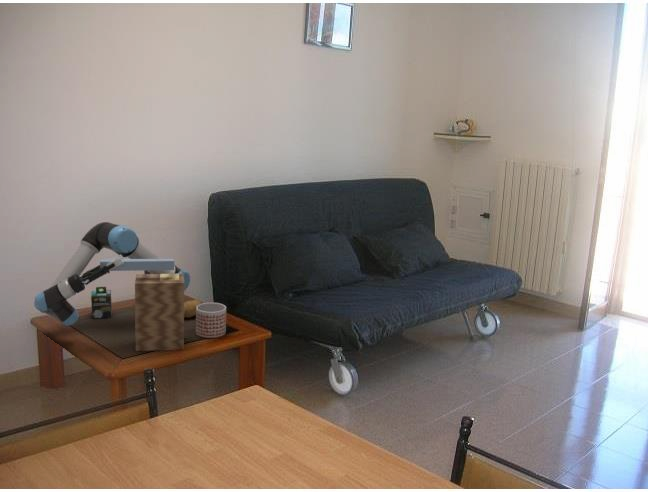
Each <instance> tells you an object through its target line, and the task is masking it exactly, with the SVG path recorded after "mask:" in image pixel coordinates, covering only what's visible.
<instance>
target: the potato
mask: <svg viewBox="0 0 648 492" xmlns="http://www.w3.org/2000/svg"><path fill="white" fill-rule="evenodd" d="M200 304H202V303H201V301H199V300H197V299H193V300H192V299H191V300H187V301H184V319H185V318H186V319H189V318H193V317H194V316H195V317H196V307H197V306H198V305H200Z"/></svg>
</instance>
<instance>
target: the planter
mask: <svg viewBox="0 0 648 492" xmlns="http://www.w3.org/2000/svg"><path fill="white" fill-rule="evenodd" d="M226 333H227V306H226V305H225V304H223V303H219V302H204V303H201V304H200V305H198V306H197V307H196V315H195V334H196V336H198V337H201V338H205V339H217V338H222V337H223V336H225V335H226Z"/></svg>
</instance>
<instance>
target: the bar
mask: <svg viewBox="0 0 648 492" xmlns="http://www.w3.org/2000/svg"><path fill="white" fill-rule="evenodd" d="M114 260H116V259H113V258H107V259H106V258H105V259H100V260H99V265H100V268H102V267H104V266H106V265H107V264H109V263H110V262H112V261H114ZM122 261H123V262H124V263H123V264H121V265H119V266H117V267H115V268H114V269H112V270H110V272H121V271H123V272H126V271H127V272H129V271H133V272H135V271H137V272H139V271H140V272H141V271H143V272H144V270H174V265H175V258H161V259H130V258H124V259H122ZM106 267H107V266H106Z"/></svg>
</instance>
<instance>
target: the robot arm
mask: <svg viewBox="0 0 648 492" xmlns="http://www.w3.org/2000/svg"><path fill="white" fill-rule="evenodd" d="M79 243H80V245H79V246H78V248H77V249H76V251H75V252H74V253H73V255H72V256H71V258H70V259H69V260H68V262H67V263H66V264H65V266H64V267H63V268H62V270H61V271H60V272H59V274H58V275H57V277H56V278H55V279H54V281H53V282H52V284H50V286H49V288H46V289H45V290H42V292H39V293H38V294H36V295H35V297H34V303H33V304H34V308H35V309H36V310H38V311H39V313H42V314H45V315H48V316H50V317H51V318H52V317H53V318H54V319H57V320H59V321H60V323H62V324H63V325H64V326H69V327H70V326H72V325H74V324H75V323H76V322H77V321H78V320H79V318H80V317H79V316H80V314H79V312H78V311H77V310H76V308H75V307H74V306H73V305H72V304H71V303H70V302H69V301H68V299H70V298H72V297H73V296H75V295H76V294H79V293H81V292H83V291H85V288H86V286H88V285H89V284H90V283H92V282H94V281H95V280H98V279H99V278H101V277H103V276H104V275H107V274H110V273H111V271H110V270H112V269H114V268H115V267H117V266H119V265H121V264H123V263H124V262H123V261H122V259H125V258H127V259H162V258H161V257H159V256H158V255H157V254H155V253H154V252H153V251H151V250H150V249H149V248H147V247H146V246H145V245H144V244H142V243H141V242H140V239H139V237H138V235H137V233H136V232H135V231H134V230H133V229H132V228H130V227H128V226H126V225H119V224H116V223H112V222H109V221H105V222H100V223H97V224H96V225H94V226H92V227H91V228H90V229H89V230H88V231H87V232H86V233H85V234H84V235H83V237H82V238H81V240H80V242H79ZM103 249H108V250H110V251H112V252H114V253H115V254H117V256H116V257H113V258H112V259H116V260H114V261H112V262H110V263H109V264H107V265H106V266H107V267H106V266H104V267H102V268H100V264H98V265H97V266H95V267H93V268H91V269H89V270H86V271H85V269H86V268H87V266H88V265H89V263H90V262H91V261H92V259H93V258H94V257H95V256H96V254H100V253H101V251H102V250H103ZM84 271H85V272H84ZM83 272H84V273H83ZM143 274H184V292H185V291H186V290H187V289H188V287H189V285H190V282H191V276H190V273H189V271H187V270H185V269H181V268H179V267H178V266H177V265H176V264H174V270H144V271H143Z"/></svg>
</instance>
